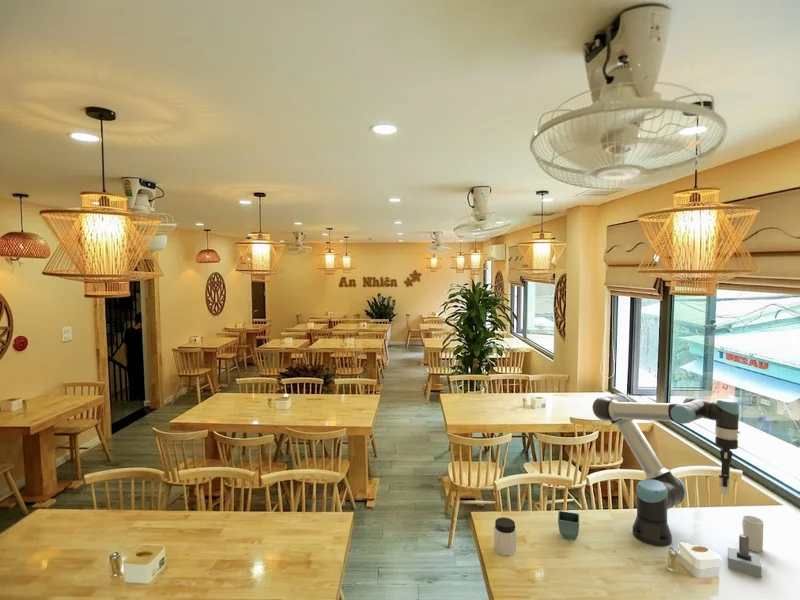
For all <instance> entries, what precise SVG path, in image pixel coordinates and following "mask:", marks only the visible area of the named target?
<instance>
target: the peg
mask: <svg viewBox="0 0 800 600" xmlns="http://www.w3.org/2000/svg"><path fill="white" fill-rule="evenodd" d="M738 538H739V539H738V540H739V541H738V545H739V546H738V550H739V558H740V559H744V560H748V561H749V553H750V550H749V537H748V536H746V535H743V533H742V534H739V536H738Z"/></svg>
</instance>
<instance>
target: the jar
mask: <svg viewBox="0 0 800 600" xmlns="http://www.w3.org/2000/svg"><path fill="white" fill-rule="evenodd" d="M493 528H494V529H493V530H494V531H493V540H494V542H493V544H494V546H493V547H494V548H493V549H494V550H495V552H496V553H498V554H499V555H500V556H505V555H508V556H509V557H512V556H513V555H514V554H515V553H516V552H517V529H516V522H515V521H514V520H513V519H511V518H509V517H498V518H496V519H495V521H494V527H493ZM515 551H516V552H515ZM514 552H515V553H514ZM513 553H514V554H513Z"/></svg>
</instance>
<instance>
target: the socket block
mask: <svg viewBox="0 0 800 600" xmlns="http://www.w3.org/2000/svg"><path fill="white" fill-rule="evenodd" d="M761 562H762V561H761V556H760V555H759V554H755V553H751V552H749V561H748V560H744V559H740V558H739V549H737V548H732V547H729V546H728V547H727V566H728V567H727V568H728V569H730V570H733V571H737V572H741V573H744V574H747V575H751V576H755V577H758V578H762V563H761Z"/></svg>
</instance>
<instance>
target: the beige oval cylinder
mask: <svg viewBox="0 0 800 600" xmlns="http://www.w3.org/2000/svg"><path fill="white" fill-rule="evenodd" d="M741 521H742V523H741V525H742V526H741V527H742V534H743V535H746V536H748V537H749V551H753V552H757V553H761V552H762V551H763V550H764V549H763V545H764V543H763V542H764V521H763V520H762V519H761V518H760V517H756V516H754V515H743V516H742V520H741Z"/></svg>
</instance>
